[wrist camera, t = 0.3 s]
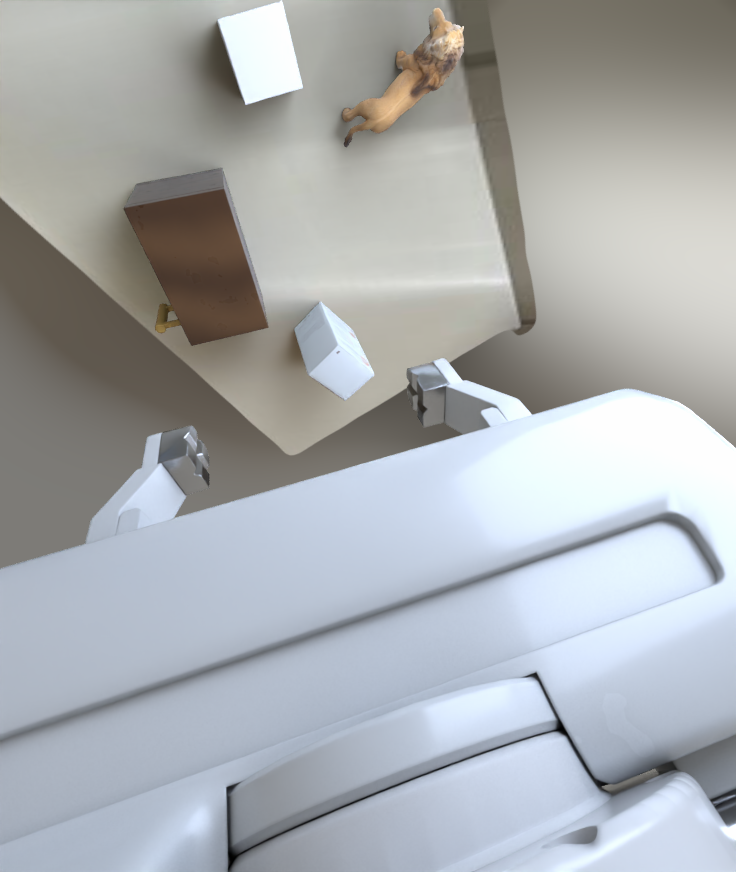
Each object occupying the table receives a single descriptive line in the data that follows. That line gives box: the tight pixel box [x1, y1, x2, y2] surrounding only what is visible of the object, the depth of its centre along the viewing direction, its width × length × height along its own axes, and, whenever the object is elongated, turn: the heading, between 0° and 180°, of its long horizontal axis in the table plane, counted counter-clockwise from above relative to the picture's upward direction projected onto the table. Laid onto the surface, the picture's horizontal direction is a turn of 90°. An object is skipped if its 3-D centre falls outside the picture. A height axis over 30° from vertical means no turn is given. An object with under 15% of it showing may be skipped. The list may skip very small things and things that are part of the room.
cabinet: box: [124, 168, 268, 346], centre depth 49 cm, size 16×10×10 cm, turn 6°
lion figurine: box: [342, 8, 464, 147], centre depth 43 cm, size 15×5×9 cm, turn 135°
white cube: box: [217, 1, 303, 105], centre depth 39 cm, size 6×6×6 cm
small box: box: [294, 302, 374, 401], centre depth 61 cm, size 8×6×13 cm
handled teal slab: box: [155, 303, 181, 333], centre depth 50 cm, size 7×4×7 cm, turn 6°
